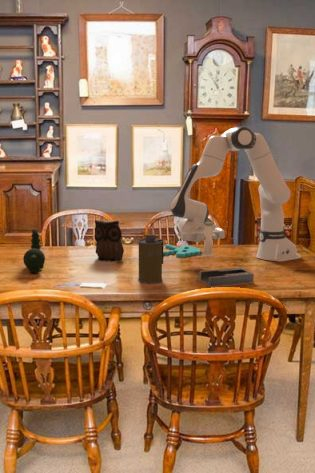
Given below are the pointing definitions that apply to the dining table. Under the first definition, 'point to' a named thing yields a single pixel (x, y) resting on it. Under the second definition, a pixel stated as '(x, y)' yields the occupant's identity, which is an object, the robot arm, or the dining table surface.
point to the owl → (108, 241)
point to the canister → (150, 259)
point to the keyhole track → (226, 277)
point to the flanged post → (208, 240)
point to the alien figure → (182, 251)
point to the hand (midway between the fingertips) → (209, 238)
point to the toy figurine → (34, 254)
